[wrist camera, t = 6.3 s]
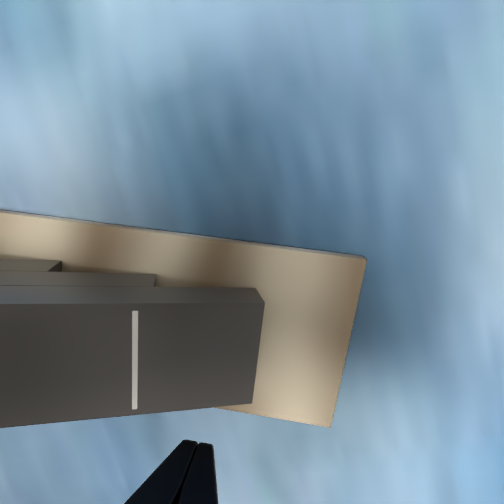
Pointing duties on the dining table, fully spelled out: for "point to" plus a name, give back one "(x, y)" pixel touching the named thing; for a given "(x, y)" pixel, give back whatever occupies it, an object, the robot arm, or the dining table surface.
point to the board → (230, 276)
